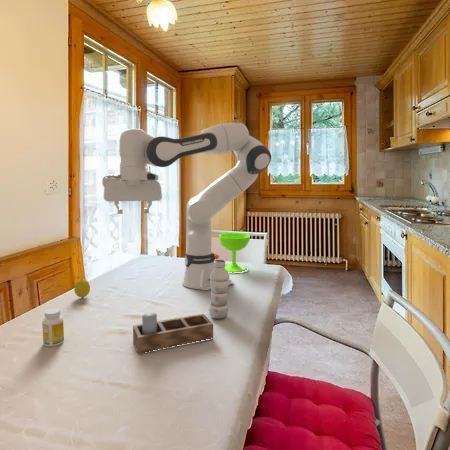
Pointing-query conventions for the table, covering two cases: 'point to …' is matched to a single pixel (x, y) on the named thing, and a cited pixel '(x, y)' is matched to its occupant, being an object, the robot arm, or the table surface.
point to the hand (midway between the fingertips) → (133, 213)
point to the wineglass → (234, 248)
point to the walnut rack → (173, 333)
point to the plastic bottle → (219, 290)
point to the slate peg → (149, 323)
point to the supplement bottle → (53, 328)
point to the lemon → (82, 288)
